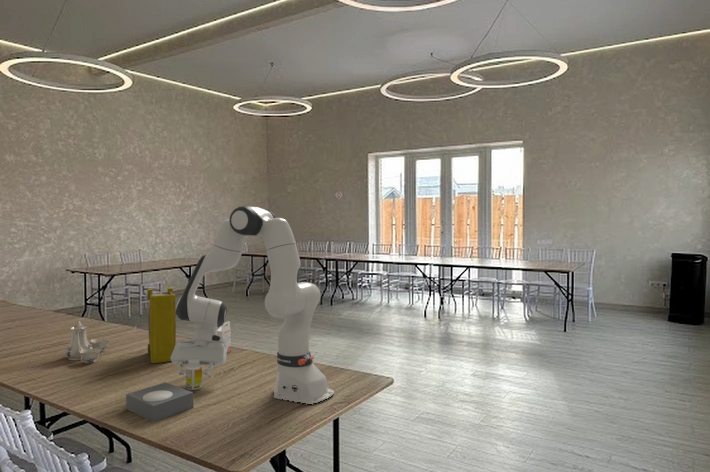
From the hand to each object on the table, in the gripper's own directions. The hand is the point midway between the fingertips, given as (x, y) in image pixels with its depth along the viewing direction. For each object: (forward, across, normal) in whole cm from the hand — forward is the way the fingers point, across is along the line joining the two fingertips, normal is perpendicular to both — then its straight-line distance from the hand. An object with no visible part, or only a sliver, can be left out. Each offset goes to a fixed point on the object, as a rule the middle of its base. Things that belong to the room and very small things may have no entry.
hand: (193, 374), depth 173 cm
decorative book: (-23, -30, +30) cm, 48 cm away
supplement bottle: (+4, 0, +4) cm, 5 cm away
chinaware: (-20, -62, +28) cm, 71 cm away
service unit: (+17, -4, -10) cm, 20 cm away
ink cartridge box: (-27, -4, +35) cm, 44 cm away
